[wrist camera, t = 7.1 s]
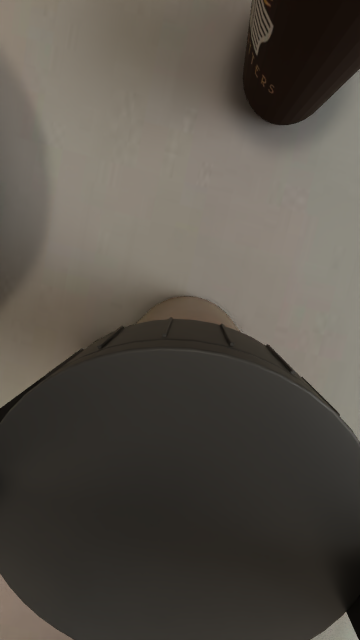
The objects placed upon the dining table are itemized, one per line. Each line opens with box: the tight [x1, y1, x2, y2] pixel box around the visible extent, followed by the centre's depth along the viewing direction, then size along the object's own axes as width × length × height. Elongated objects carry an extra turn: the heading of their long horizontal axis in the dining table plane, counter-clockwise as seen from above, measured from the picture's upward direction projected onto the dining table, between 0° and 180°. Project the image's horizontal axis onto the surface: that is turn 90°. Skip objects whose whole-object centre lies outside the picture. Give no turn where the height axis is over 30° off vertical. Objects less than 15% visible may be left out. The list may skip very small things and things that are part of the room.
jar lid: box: [0, 317, 360, 640], centre depth 8 cm, size 11×11×3 cm
